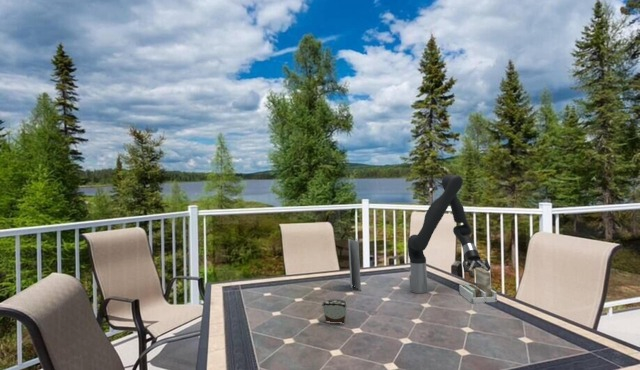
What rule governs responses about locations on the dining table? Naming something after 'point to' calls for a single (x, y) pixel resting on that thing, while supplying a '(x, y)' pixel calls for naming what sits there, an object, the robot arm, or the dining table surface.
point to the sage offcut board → (471, 290)
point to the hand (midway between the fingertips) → (480, 277)
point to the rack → (481, 299)
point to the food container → (335, 310)
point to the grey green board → (483, 281)
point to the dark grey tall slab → (354, 263)
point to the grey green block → (476, 291)
